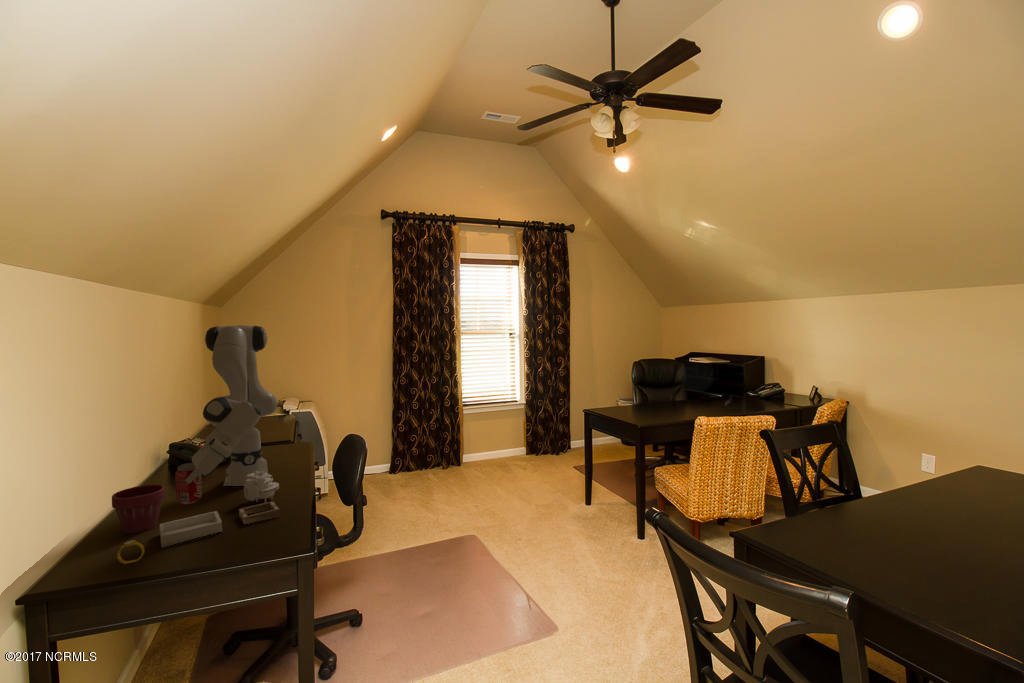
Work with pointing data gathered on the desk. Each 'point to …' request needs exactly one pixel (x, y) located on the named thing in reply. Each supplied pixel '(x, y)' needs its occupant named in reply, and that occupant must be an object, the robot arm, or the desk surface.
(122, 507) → the plant pot
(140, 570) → the desk surface
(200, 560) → the desk surface
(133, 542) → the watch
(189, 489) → the soda can
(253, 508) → the can holder
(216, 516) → the tray
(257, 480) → the mechanical part
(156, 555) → the desk surface
